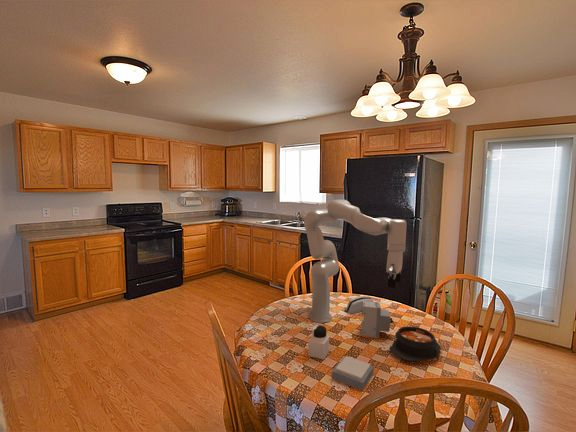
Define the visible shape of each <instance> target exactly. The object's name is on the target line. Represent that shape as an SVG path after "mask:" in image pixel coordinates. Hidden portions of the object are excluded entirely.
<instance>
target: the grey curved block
mask: <svg viewBox="0 0 576 432" xmlns="http://www.w3.org/2000/svg"><path fill="white" fill-rule="evenodd" d="M363 301H372V302H375V301H374V299H372V297H370V296H367V295H364V296H363V295H362V296H358V297H357V296H356V297H354V298H351V299H350V300H349V302H348V303H347V306H346V307H344V311H346V312H347V314H349V315H351V314H355V313H362V304H363Z"/></svg>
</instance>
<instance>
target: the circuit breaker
mask: <svg viewBox="0 0 576 432" xmlns="http://www.w3.org/2000/svg"><path fill="white" fill-rule="evenodd" d="M361 313H362V316H363V320H361V324H360V325H361V330H360V331H361V336H362V337H365V338H372V339H373V338H375V339H380V337H381V336H380V333H381V332H389V333H390V329H391V328H390V326H391V324H394V320H393V318H392V317H391V315H390V311H389V310H388V309H382V308H381V304H380V302H379V301H374V302H372V301H363V304H362V312H361Z"/></svg>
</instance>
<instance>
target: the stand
mask: <svg viewBox="0 0 576 432" xmlns="http://www.w3.org/2000/svg"><path fill="white" fill-rule="evenodd" d="M374 371H375V366H374V365H371V363H368V362H365V361H362V360H360V359H356V358H354V357H351V356H349V355H348V356H347V355H345V356H343V358H342V359H341V360H340V361H339V362H338V363H337V364H336V366H335V367H334V368H333V369H332V370H331V379H332V380H334V381H337V382H340V383H342V384H344V385H347V386H349V387H352V388H355V389H357V390H359V391H364V390H365V388H366V387H367V385H368V383H369V381H370V380H371V378H372V377H373V375H374V374H375V373H374Z"/></svg>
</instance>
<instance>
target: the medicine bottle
mask: <svg viewBox="0 0 576 432" xmlns="http://www.w3.org/2000/svg"><path fill="white" fill-rule="evenodd" d="M311 331H312V332H311V337H310V338H309V339H308V349H307V351H308V353H307V355H308V357H312V358H315V359H319V360H321V361H323V360H325V359H326V357H327V355H328V354H329V351H330V336H329V335H327V328H326V327H325V326H323V325H322V324H321V325H320V324H319V325H318V324H317V325H314V326H312V329H311Z"/></svg>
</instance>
